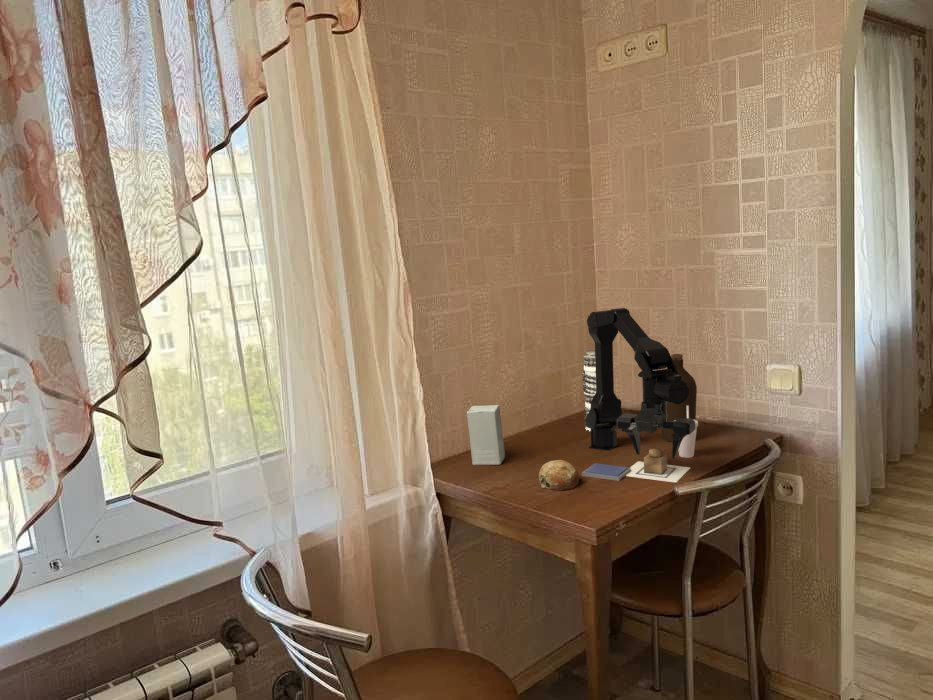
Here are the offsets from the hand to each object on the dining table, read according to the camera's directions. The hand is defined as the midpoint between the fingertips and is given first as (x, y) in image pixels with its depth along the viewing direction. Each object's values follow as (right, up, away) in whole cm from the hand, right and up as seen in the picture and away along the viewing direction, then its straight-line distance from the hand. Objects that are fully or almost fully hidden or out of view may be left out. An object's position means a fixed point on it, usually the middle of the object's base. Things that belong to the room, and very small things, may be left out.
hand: (656, 456), depth 183 cm
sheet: (0, -4, +1) cm, 4 cm away
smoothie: (+11, -2, +12) cm, 17 cm away
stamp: (0, -4, +1) cm, 4 cm away
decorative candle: (-6, +2, +45) cm, 46 cm away
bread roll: (-25, -7, -3) cm, 26 cm away
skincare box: (-42, -5, +18) cm, 46 cm away
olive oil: (+14, +1, +29) cm, 33 cm away
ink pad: (-12, -5, +2) cm, 13 cm away
